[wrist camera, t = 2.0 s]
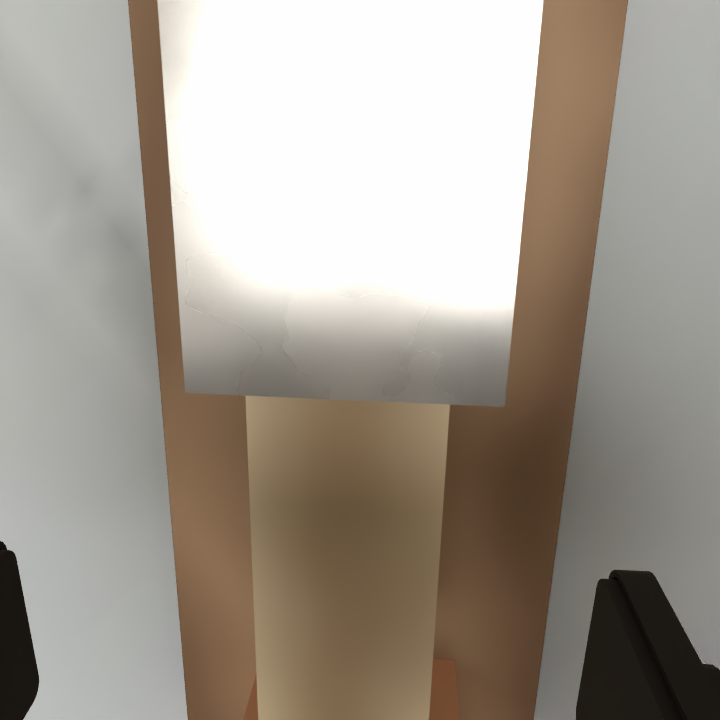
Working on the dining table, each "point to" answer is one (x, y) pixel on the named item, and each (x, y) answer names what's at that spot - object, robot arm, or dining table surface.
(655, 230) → the dining table surface
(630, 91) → the dining table surface
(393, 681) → the tube
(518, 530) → the walnut board
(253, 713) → the terracotta socket
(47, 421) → the dining table surface
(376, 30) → the metal sleeve
